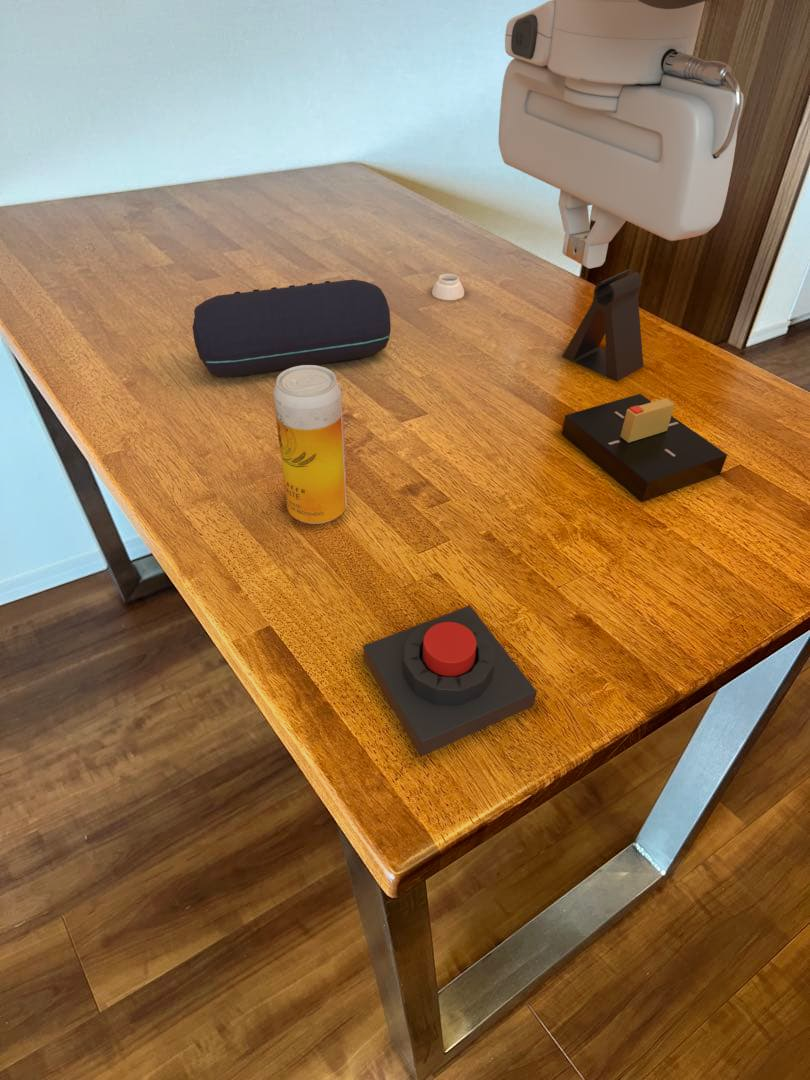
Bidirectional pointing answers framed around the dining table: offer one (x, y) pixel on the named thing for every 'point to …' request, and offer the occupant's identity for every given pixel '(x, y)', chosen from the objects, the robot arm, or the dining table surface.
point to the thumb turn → (647, 420)
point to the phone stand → (611, 329)
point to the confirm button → (449, 649)
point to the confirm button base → (447, 684)
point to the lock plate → (642, 450)
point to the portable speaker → (291, 327)
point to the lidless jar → (448, 287)
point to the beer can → (311, 442)
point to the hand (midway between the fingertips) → (582, 261)
